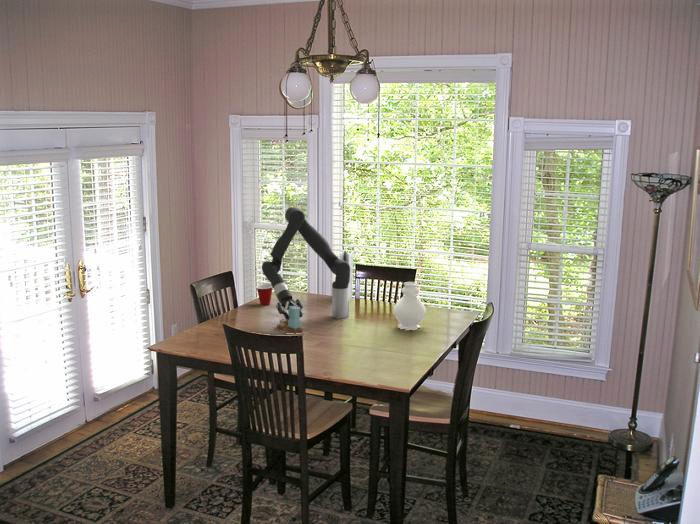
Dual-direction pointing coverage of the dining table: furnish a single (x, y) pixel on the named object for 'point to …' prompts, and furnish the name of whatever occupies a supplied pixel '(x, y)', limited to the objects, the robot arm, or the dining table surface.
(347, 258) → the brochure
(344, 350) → the dining table surface
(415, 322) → the decorative vase
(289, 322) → the teal rectangular block
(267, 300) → the plastic cup
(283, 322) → the offcut top
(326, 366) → the dining table surface
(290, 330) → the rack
